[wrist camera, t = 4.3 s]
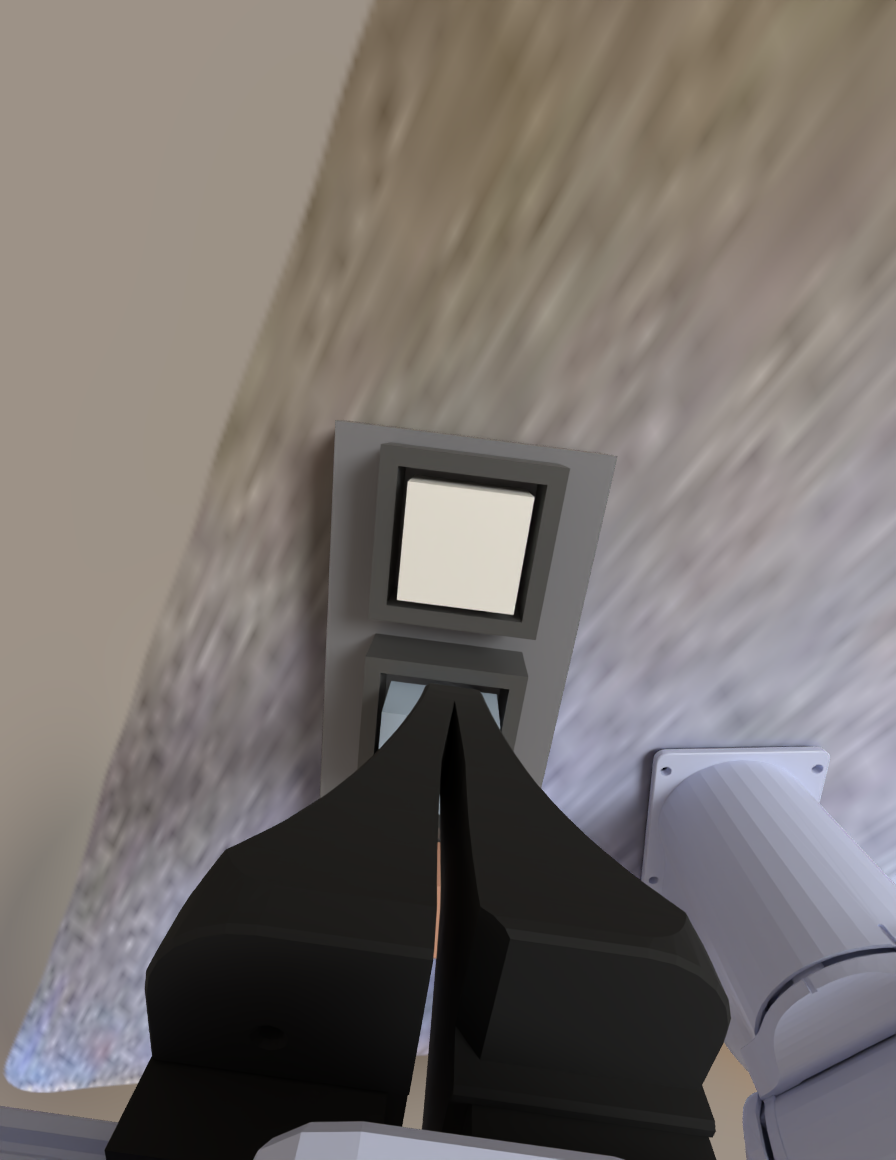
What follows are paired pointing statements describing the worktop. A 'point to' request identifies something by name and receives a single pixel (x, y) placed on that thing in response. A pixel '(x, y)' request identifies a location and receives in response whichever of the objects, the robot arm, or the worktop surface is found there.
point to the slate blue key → (402, 703)
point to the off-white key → (463, 544)
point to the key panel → (440, 633)
